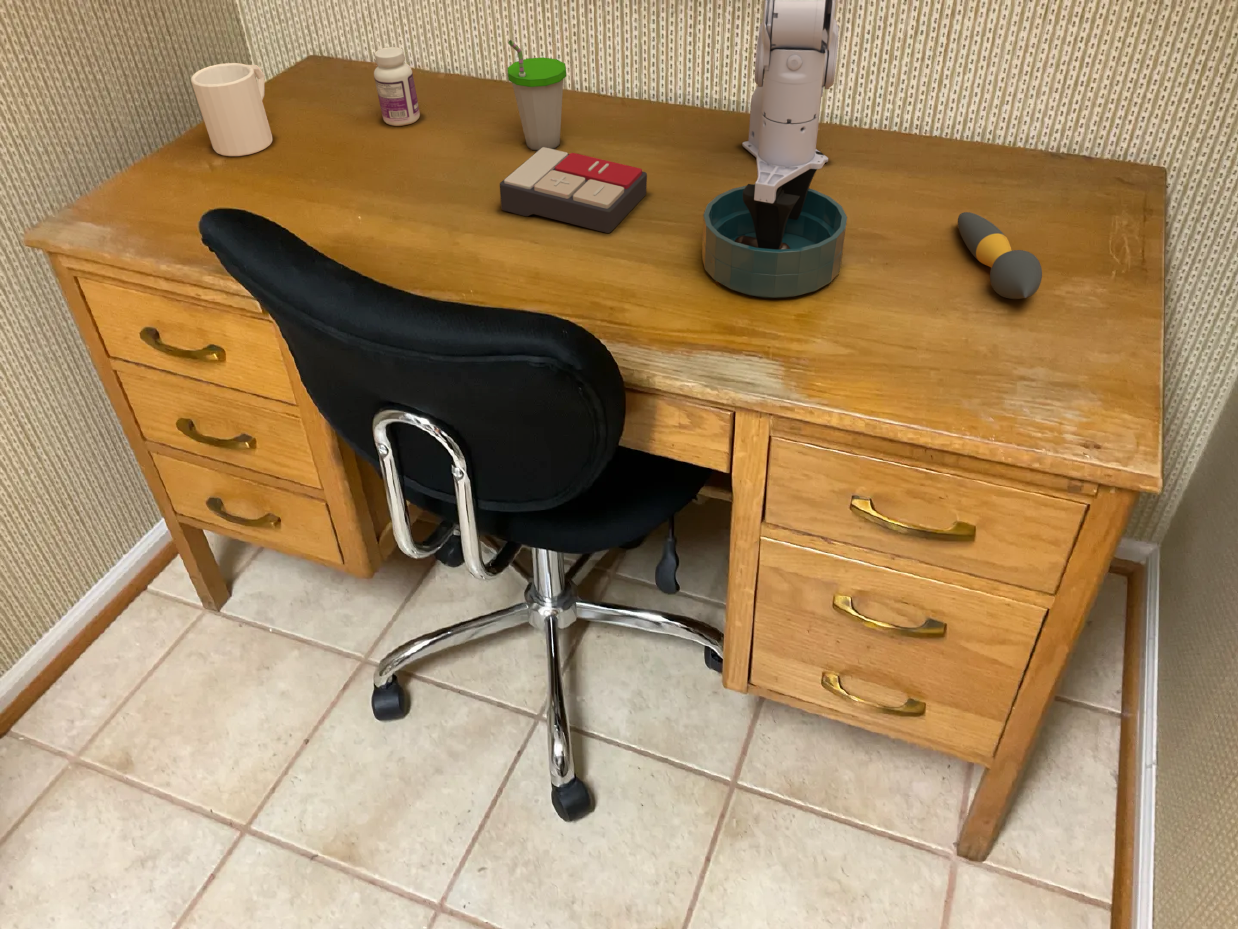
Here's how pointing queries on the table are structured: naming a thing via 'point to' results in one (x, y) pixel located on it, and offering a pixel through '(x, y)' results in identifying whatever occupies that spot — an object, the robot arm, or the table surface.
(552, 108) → the cup
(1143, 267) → the table surface
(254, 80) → the mug
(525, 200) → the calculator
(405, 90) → the pill bottle
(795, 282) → the bowl
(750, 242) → the brush
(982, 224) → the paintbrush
